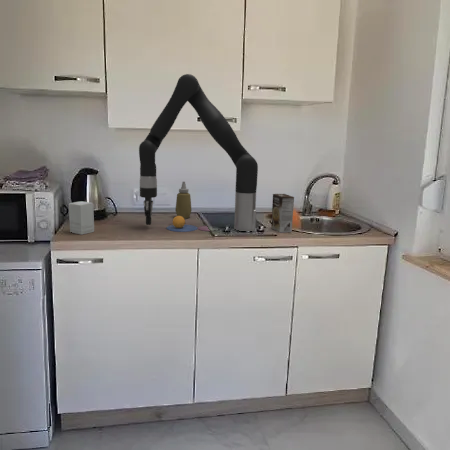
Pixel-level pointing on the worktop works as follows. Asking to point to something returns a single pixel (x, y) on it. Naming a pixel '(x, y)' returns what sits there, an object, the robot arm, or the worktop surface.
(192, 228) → the disc
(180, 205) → the squeeze bottle
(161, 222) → the worktop surface
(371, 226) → the worktop surface
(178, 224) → the ball
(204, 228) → the disc
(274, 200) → the coffee box
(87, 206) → the supplement box
